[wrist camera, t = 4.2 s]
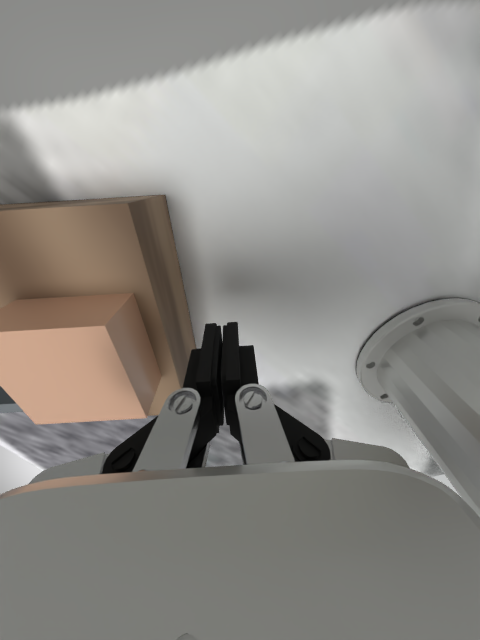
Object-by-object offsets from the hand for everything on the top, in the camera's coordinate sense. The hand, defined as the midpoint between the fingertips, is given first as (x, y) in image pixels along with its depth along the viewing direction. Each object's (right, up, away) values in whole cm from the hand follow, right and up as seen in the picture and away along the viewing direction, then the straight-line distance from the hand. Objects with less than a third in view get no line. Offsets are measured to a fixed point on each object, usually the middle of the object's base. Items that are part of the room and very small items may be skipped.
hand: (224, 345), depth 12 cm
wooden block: (-9, +3, +6) cm, 11 cm away
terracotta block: (-7, 0, +1) cm, 7 cm away
